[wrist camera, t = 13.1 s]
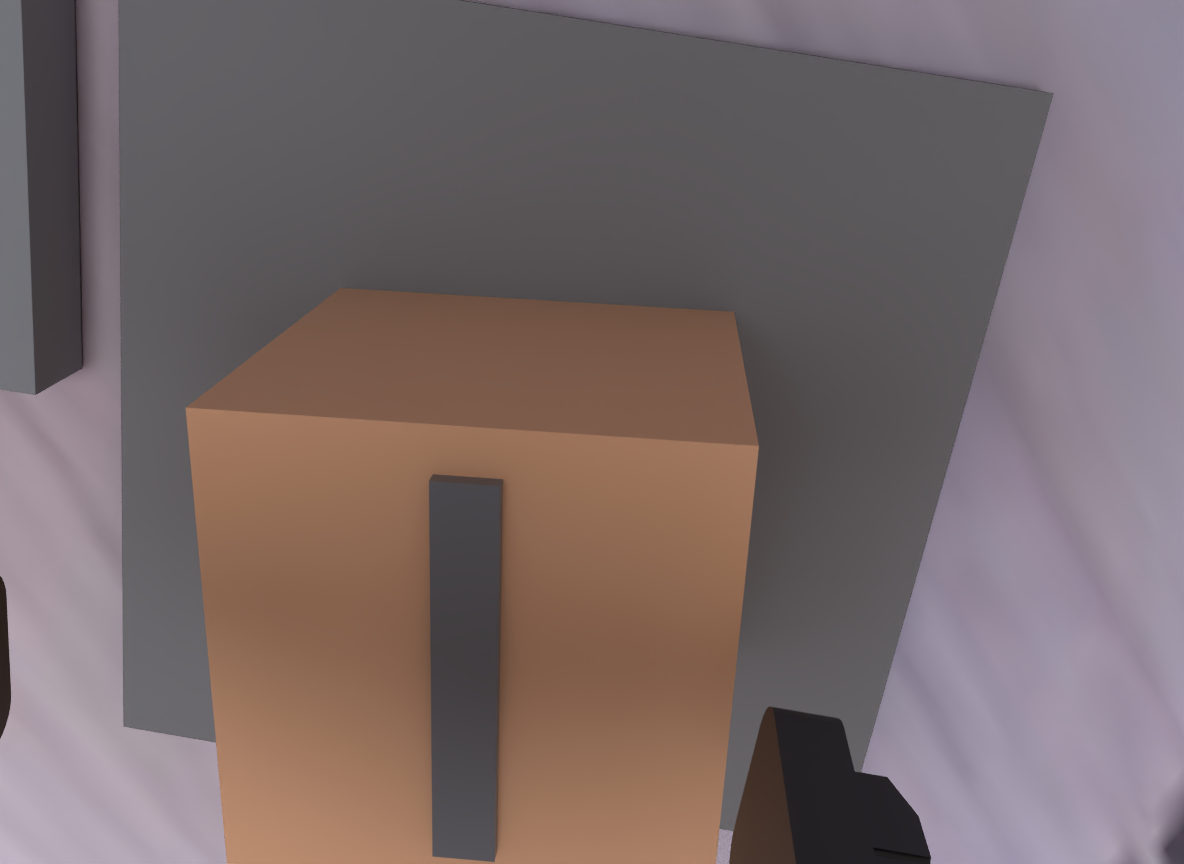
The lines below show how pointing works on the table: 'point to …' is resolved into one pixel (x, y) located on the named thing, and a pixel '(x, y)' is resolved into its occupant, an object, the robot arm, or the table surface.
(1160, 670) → the table surface
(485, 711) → the tan cube
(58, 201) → the grey peg stand
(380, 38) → the rubber mat
